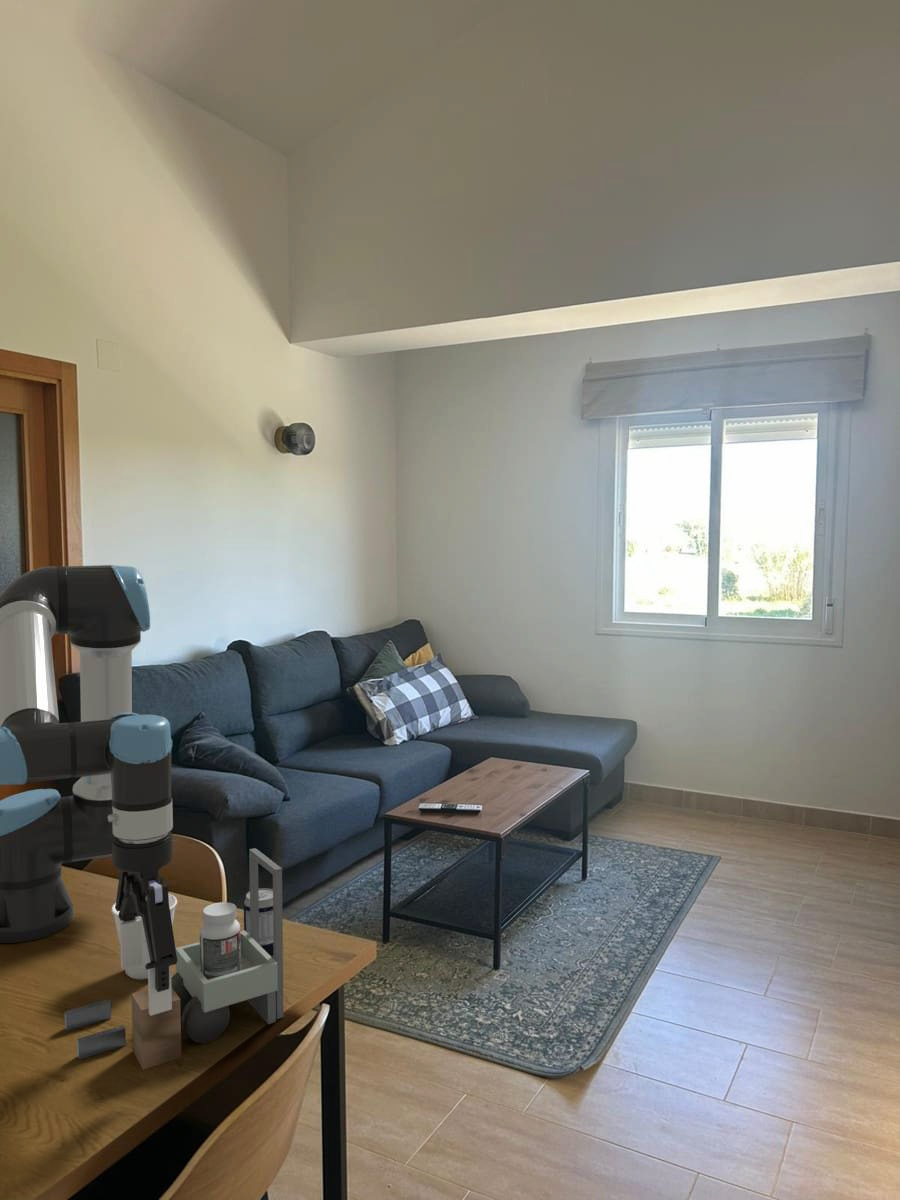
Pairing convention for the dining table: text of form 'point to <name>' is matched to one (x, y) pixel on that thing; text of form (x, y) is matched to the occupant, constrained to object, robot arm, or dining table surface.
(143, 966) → the cup
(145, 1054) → the brown rectangular block
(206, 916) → the pill bottle
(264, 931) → the cylindrical canister
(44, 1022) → the dining table surface
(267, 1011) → the trolley
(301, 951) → the dining table surface
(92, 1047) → the grey blocks
